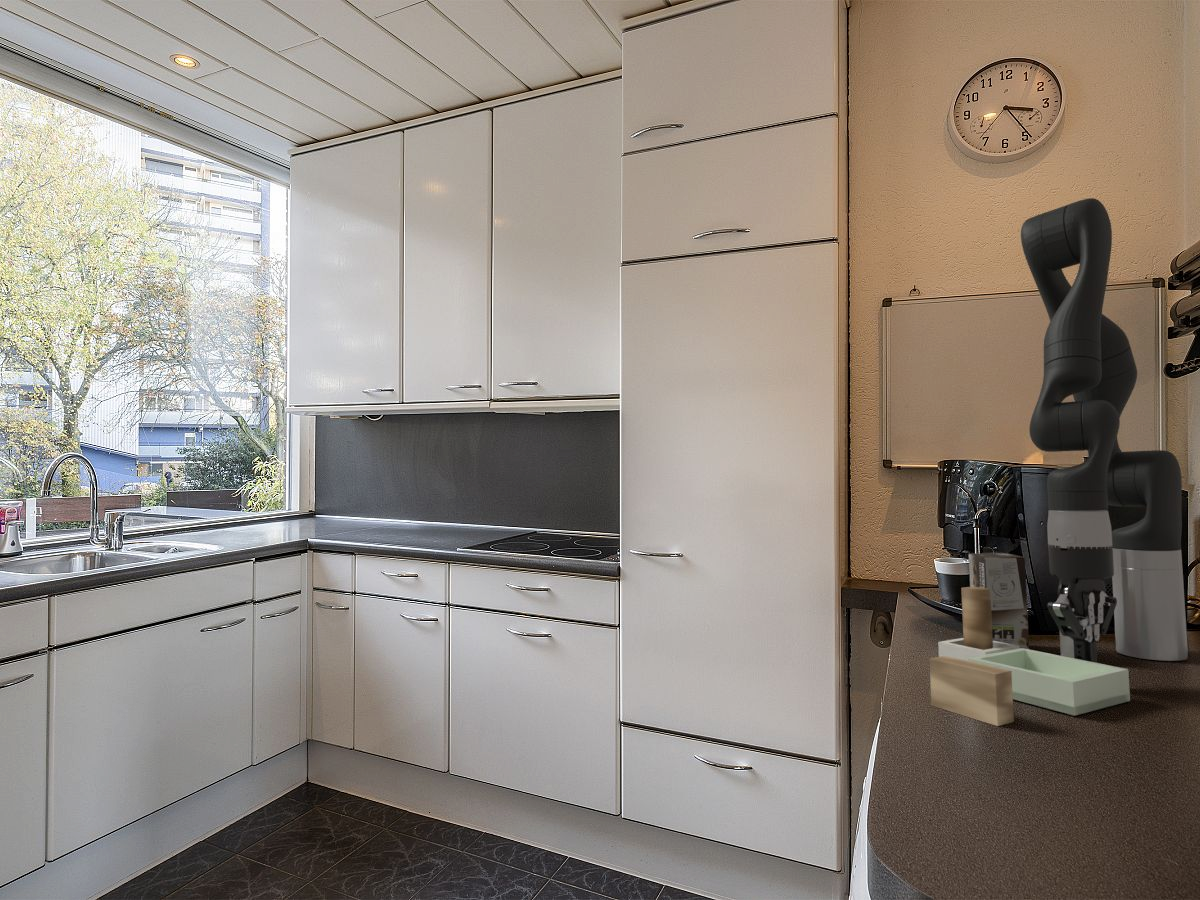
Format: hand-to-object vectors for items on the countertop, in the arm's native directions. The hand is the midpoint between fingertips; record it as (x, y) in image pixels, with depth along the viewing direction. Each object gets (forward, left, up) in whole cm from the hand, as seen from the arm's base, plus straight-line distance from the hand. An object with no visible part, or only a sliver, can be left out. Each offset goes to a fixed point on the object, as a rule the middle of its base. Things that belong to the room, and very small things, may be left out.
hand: (1085, 667), depth 98 cm
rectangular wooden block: (+24, 0, -3) cm, 24 cm away
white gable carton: (-15, -10, -3) cm, 18 cm away
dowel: (+3, -14, -3) cm, 15 cm away
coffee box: (-11, -20, -3) cm, 23 cm away
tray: (+9, 0, -3) cm, 9 cm away
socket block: (+3, -14, -3) cm, 15 cm away
